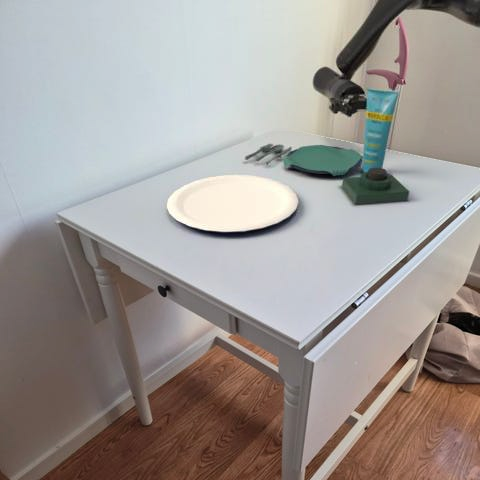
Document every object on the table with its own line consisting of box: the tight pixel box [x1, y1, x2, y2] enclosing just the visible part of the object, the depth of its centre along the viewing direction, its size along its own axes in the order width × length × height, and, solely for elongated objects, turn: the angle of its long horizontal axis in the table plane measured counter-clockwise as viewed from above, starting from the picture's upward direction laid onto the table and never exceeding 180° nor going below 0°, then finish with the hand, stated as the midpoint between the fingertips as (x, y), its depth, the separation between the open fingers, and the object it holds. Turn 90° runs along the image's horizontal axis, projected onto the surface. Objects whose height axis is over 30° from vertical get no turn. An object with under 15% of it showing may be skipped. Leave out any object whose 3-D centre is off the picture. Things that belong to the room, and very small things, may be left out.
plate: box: [166, 174, 299, 234], centre depth 94 cm, size 29×29×2 cm
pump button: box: [367, 167, 388, 181], centre depth 95 cm, size 4×4×2 cm
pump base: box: [341, 171, 410, 205], centre depth 97 cm, size 12×10×4 cm
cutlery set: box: [244, 143, 363, 177], centre depth 114 cm, size 20×30×2 cm, turn 58°
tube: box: [361, 87, 400, 173], centre depth 101 cm, size 7×5×19 cm, turn 57°
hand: (367, 111), depth 106 cm, fingers open, 8 cm apart
